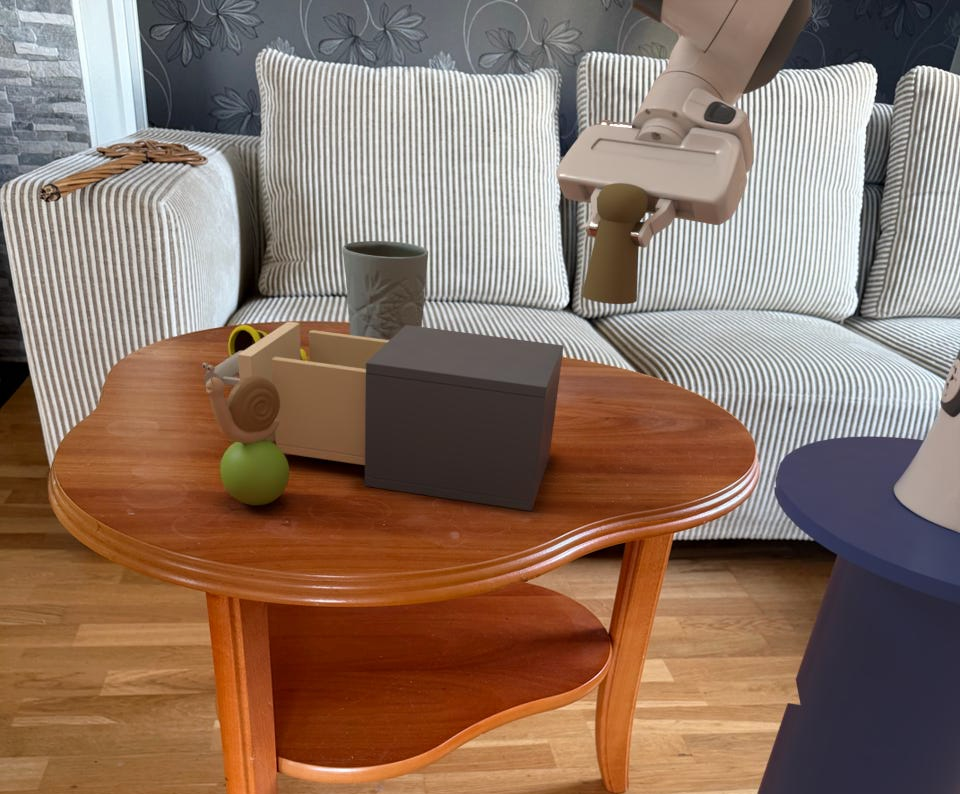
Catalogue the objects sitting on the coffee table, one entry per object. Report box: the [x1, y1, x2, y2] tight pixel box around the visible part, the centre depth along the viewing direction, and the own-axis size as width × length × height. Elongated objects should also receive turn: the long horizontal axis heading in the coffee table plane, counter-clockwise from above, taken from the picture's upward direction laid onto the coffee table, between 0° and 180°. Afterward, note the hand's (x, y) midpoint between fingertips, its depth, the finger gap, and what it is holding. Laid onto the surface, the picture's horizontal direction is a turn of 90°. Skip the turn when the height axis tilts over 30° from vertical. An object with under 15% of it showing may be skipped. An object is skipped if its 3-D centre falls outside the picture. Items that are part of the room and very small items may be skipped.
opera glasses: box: [227, 324, 308, 361], centre depth 100 cm, size 10×5×5 cm, turn 39°
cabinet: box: [364, 325, 564, 512], centre depth 80 cm, size 15×13×11 cm
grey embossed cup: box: [342, 240, 429, 340], centre depth 110 cm, size 10×10×12 cm
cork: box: [581, 183, 648, 305], centre depth 94 cm, size 6×6×11 cm
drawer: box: [203, 321, 389, 466], centre depth 82 cm, size 18×12×9 cm, turn 79°
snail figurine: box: [201, 361, 290, 506], centre depth 71 cm, size 5×6×12 cm
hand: (614, 238), depth 93 cm, fingers closed on cork, 4 cm apart
